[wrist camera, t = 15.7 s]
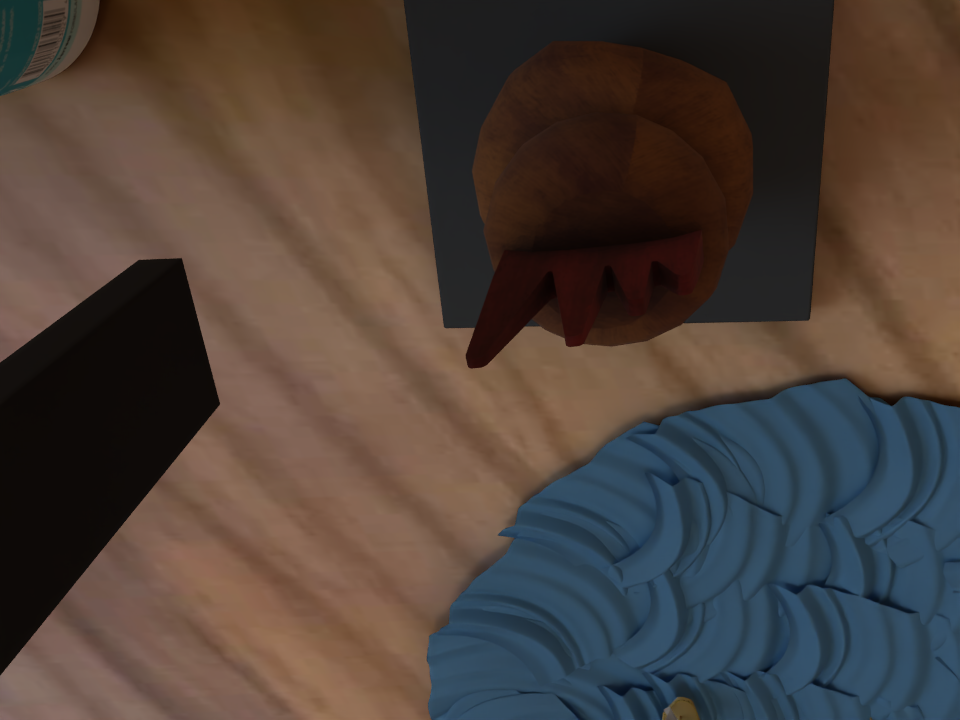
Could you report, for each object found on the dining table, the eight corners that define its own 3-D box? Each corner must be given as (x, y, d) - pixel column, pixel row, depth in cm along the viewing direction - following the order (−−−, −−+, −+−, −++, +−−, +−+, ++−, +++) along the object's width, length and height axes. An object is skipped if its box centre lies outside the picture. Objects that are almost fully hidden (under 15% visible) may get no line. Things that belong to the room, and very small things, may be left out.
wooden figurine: (486, 194, 28) (354, 451, 15) (526, 3, 25) (408, 113, 12) (695, 246, 28) (748, 554, 15) (759, 58, 25) (894, 231, 12)
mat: (399, -94, 26) (391, -94, 25) (838, -142, 24) (845, -144, 23) (449, 317, 31) (443, 329, 31) (805, 308, 29) (810, 321, 28)
